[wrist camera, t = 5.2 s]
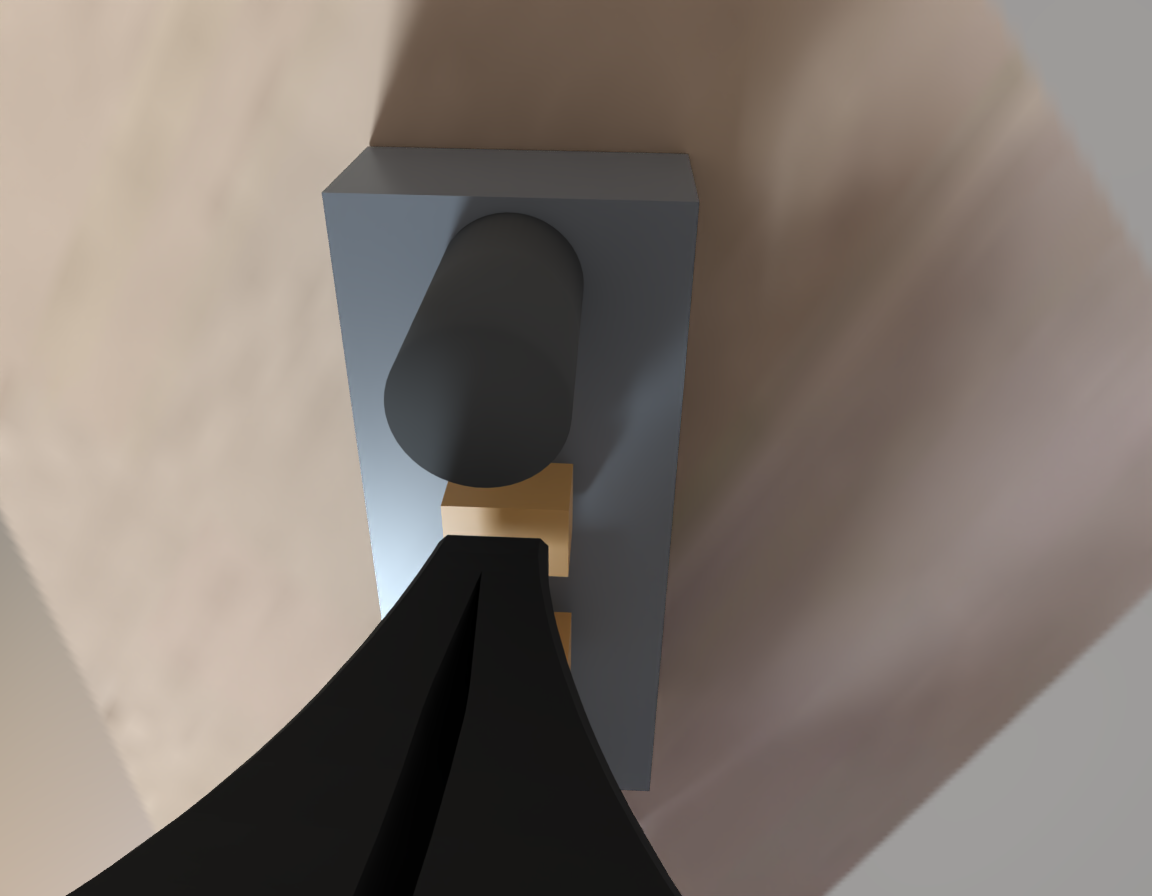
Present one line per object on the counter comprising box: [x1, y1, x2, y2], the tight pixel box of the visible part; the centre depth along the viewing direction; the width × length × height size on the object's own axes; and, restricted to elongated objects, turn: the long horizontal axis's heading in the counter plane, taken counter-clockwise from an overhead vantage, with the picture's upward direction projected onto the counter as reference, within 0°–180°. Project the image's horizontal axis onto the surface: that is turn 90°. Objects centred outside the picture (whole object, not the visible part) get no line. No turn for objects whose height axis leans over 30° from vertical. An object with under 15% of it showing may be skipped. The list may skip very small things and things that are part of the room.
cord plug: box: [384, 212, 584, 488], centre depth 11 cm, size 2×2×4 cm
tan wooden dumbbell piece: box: [441, 463, 573, 669], centre depth 14 cm, size 4×2×1 cm, turn 179°
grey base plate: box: [322, 147, 699, 791], centre depth 16 cm, size 12×5×2 cm, turn 0°
